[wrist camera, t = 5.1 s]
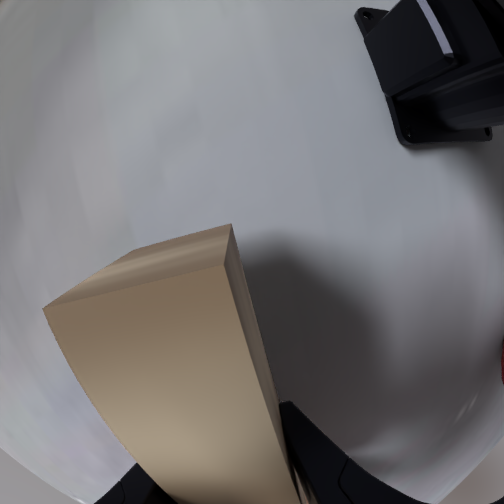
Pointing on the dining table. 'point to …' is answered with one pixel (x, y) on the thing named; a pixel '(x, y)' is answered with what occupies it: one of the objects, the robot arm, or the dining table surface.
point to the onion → (502, 364)
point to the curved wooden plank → (181, 370)
